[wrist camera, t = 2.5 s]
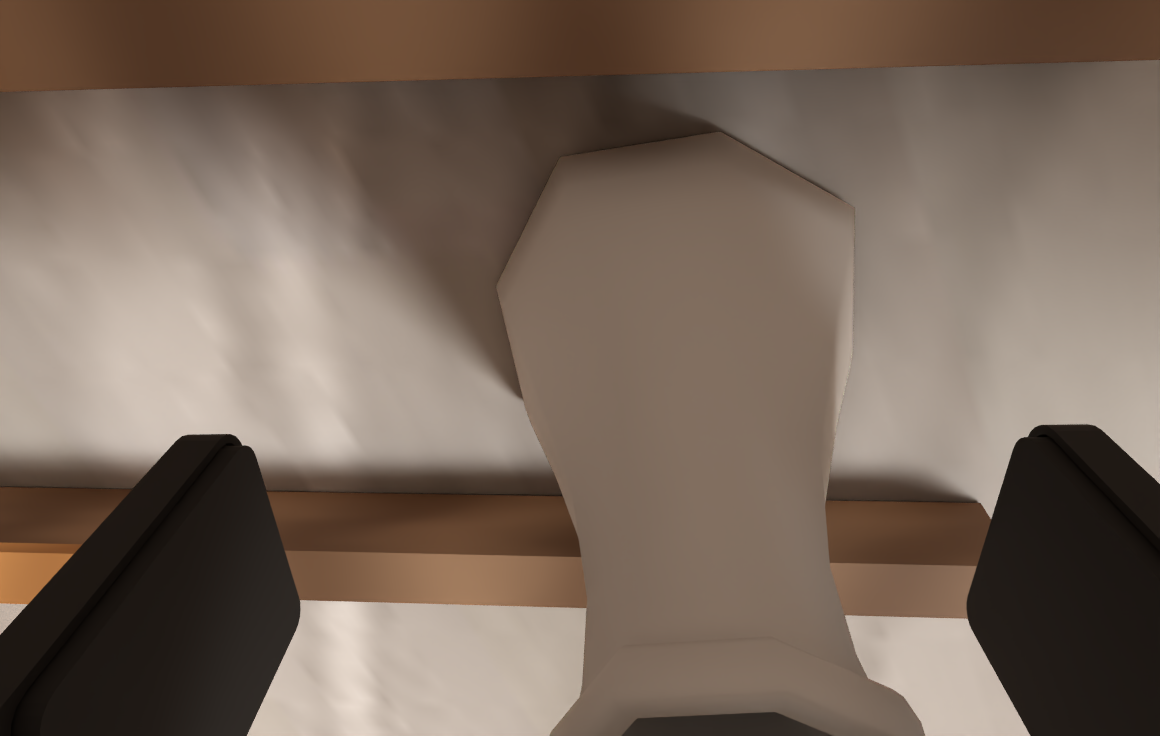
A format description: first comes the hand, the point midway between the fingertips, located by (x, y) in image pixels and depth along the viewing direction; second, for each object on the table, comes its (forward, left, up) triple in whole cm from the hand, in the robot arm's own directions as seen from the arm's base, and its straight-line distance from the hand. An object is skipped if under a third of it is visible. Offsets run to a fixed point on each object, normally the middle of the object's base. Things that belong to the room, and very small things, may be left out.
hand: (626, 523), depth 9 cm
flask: (-1, 0, -7) cm, 7 cm away
